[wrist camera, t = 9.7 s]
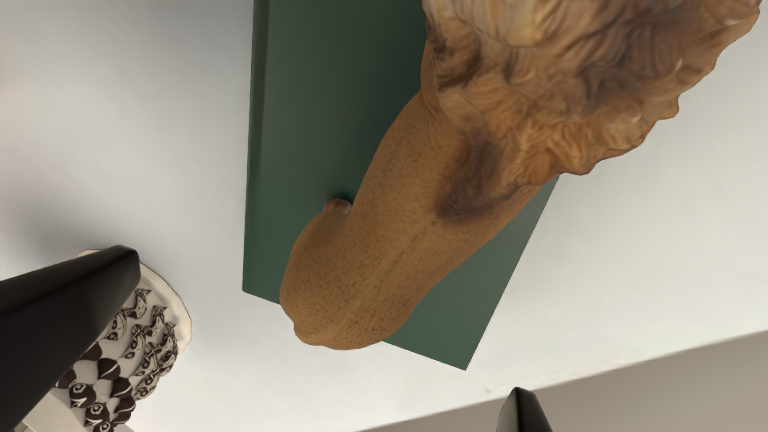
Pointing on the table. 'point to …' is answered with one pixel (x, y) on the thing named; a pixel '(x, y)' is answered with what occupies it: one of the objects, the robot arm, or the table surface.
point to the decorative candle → (117, 363)
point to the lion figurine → (494, 142)
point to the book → (352, 153)
